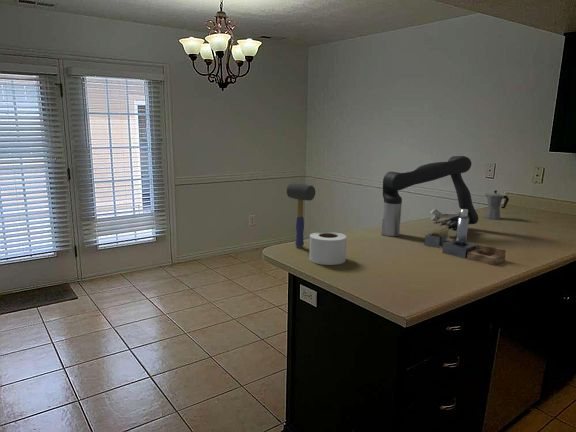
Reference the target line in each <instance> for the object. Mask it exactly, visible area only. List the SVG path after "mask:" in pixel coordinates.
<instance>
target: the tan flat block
mask: <svg viewBox="0 0 576 432" xmlns="http://www.w3.org/2000/svg"><path fill="white" fill-rule="evenodd" d="M449 230H450V229H449V226H445V225H442V226H440V225H439V226H438V227H435V228H433V231H432V232H433V236H435V237H439V236H440V235H442V234H447V237H446V242H448V241H449V240H448V237H449Z"/></svg>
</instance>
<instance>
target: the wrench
mask: <svg viewBox="0 0 576 432" xmlns="http://www.w3.org/2000/svg"><path fill="white" fill-rule="evenodd" d="M429 214H430V215H433V217H430V220H431V221H432V222H434V221H435V222H434V223H437V222H438V221H439V220H441V219H450V218H452V217H454V216H457V215H459V213H455V212H454V213H451V212H450V213H446V212H444V213H442V212H441V211H439V210H438V209H436V208H433V209H431V210H430V212H429Z"/></svg>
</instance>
